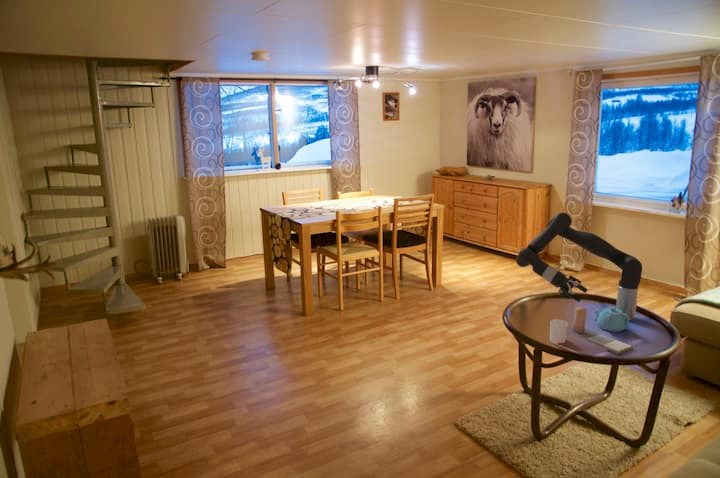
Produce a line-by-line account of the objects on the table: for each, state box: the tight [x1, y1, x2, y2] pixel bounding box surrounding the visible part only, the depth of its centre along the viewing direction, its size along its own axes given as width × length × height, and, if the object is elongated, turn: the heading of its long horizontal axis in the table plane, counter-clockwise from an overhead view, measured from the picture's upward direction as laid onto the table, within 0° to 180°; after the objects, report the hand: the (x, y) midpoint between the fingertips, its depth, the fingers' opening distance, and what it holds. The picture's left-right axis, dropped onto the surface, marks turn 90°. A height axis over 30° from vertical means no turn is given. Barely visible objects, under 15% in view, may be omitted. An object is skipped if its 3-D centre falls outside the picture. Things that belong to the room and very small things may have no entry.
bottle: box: [572, 306, 588, 334], centre depth 246 cm, size 5×5×12 cm
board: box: [567, 328, 634, 356], centre depth 239 cm, size 12×28×2 cm, turn 31°
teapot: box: [593, 306, 631, 333], centre depth 251 cm, size 20×17×12 cm
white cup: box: [549, 318, 569, 345], centre depth 237 cm, size 8×8×10 cm
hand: (583, 295), depth 241 cm, fingers open, 8 cm apart
